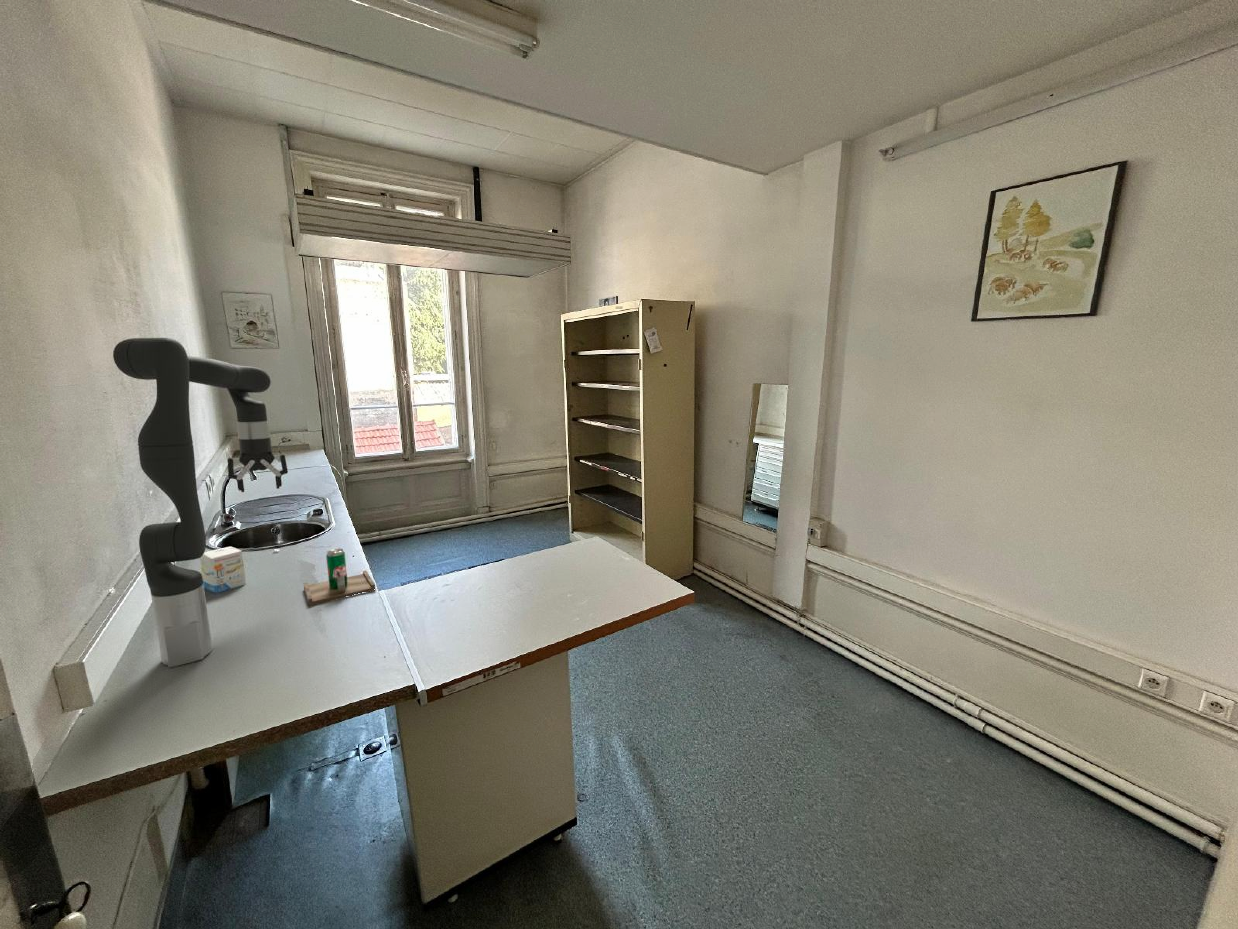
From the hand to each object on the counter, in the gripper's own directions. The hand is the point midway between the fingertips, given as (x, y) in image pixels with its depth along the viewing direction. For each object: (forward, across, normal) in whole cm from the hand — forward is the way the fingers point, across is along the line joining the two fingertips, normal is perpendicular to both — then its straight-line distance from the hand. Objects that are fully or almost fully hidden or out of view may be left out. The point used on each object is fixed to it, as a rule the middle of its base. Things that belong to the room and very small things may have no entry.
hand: (260, 490), depth 146 cm
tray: (+33, +17, -10) cm, 39 cm away
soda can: (+32, +17, -10) cm, 38 cm away
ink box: (+33, -12, +15) cm, 39 cm away
